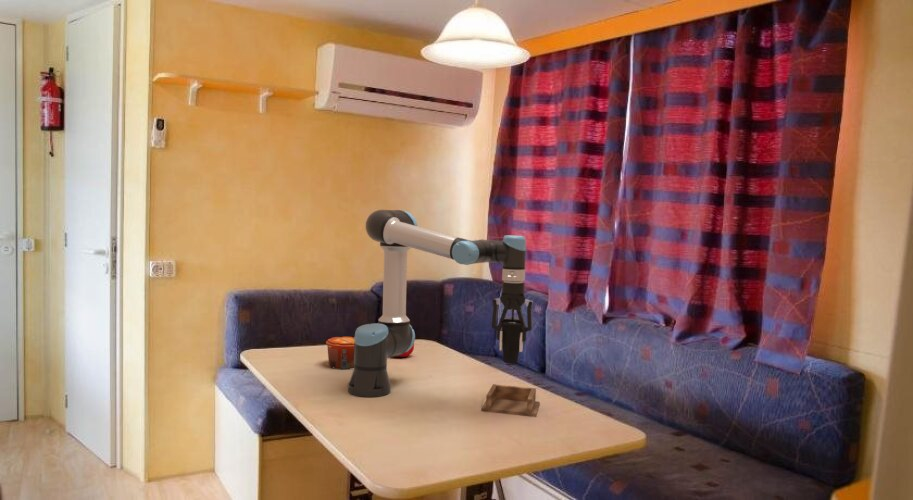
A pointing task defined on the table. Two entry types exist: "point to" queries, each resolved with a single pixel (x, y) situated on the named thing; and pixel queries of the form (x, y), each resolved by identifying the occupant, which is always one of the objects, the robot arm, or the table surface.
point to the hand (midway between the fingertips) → (510, 350)
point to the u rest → (511, 400)
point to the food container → (341, 352)
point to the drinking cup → (511, 338)
